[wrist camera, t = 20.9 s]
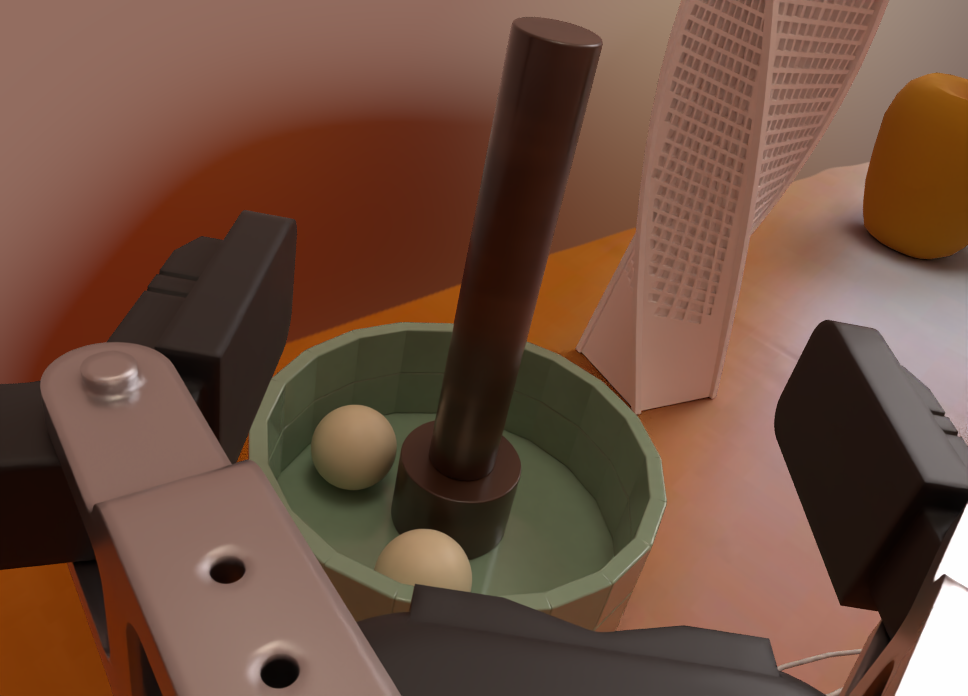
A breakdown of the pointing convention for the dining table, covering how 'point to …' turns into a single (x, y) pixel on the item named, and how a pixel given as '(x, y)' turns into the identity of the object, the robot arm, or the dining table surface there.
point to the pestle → (499, 290)
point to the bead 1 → (353, 447)
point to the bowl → (539, 496)
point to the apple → (921, 170)
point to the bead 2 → (426, 560)
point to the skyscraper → (718, 180)
